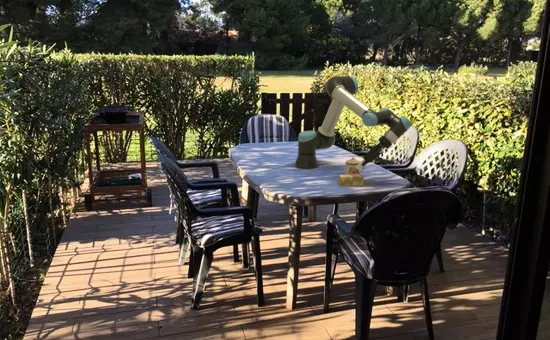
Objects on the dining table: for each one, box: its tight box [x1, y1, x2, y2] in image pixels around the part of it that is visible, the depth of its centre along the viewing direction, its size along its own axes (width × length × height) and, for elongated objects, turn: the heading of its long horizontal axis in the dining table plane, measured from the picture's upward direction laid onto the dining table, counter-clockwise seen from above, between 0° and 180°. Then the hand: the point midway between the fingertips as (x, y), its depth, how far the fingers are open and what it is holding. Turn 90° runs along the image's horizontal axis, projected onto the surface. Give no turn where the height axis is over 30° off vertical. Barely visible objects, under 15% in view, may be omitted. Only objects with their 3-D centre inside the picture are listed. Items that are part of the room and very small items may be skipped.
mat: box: [336, 180, 377, 189], centre depth 251 cm, size 20×13×1 cm, turn 96°
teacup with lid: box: [344, 156, 366, 175], centre depth 270 cm, size 12×9×12 cm
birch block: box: [338, 173, 365, 187], centre depth 250 cm, size 5×5×13 cm
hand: (357, 169), depth 249 cm, fingers closed
